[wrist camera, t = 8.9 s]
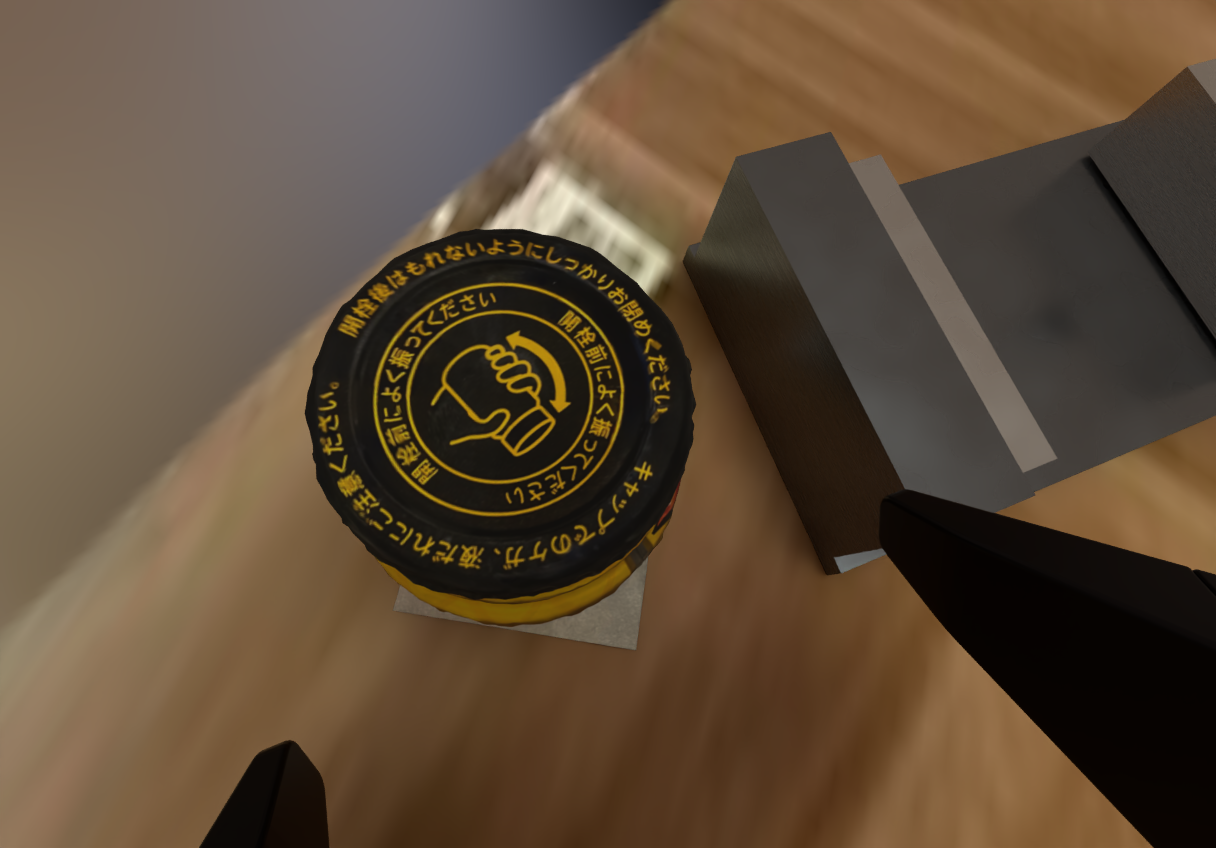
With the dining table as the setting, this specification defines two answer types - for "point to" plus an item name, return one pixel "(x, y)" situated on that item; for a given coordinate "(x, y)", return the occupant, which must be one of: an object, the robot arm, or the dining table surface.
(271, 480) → the dining table surface
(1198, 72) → the sliding jaw
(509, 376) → the condiment
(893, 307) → the vise
